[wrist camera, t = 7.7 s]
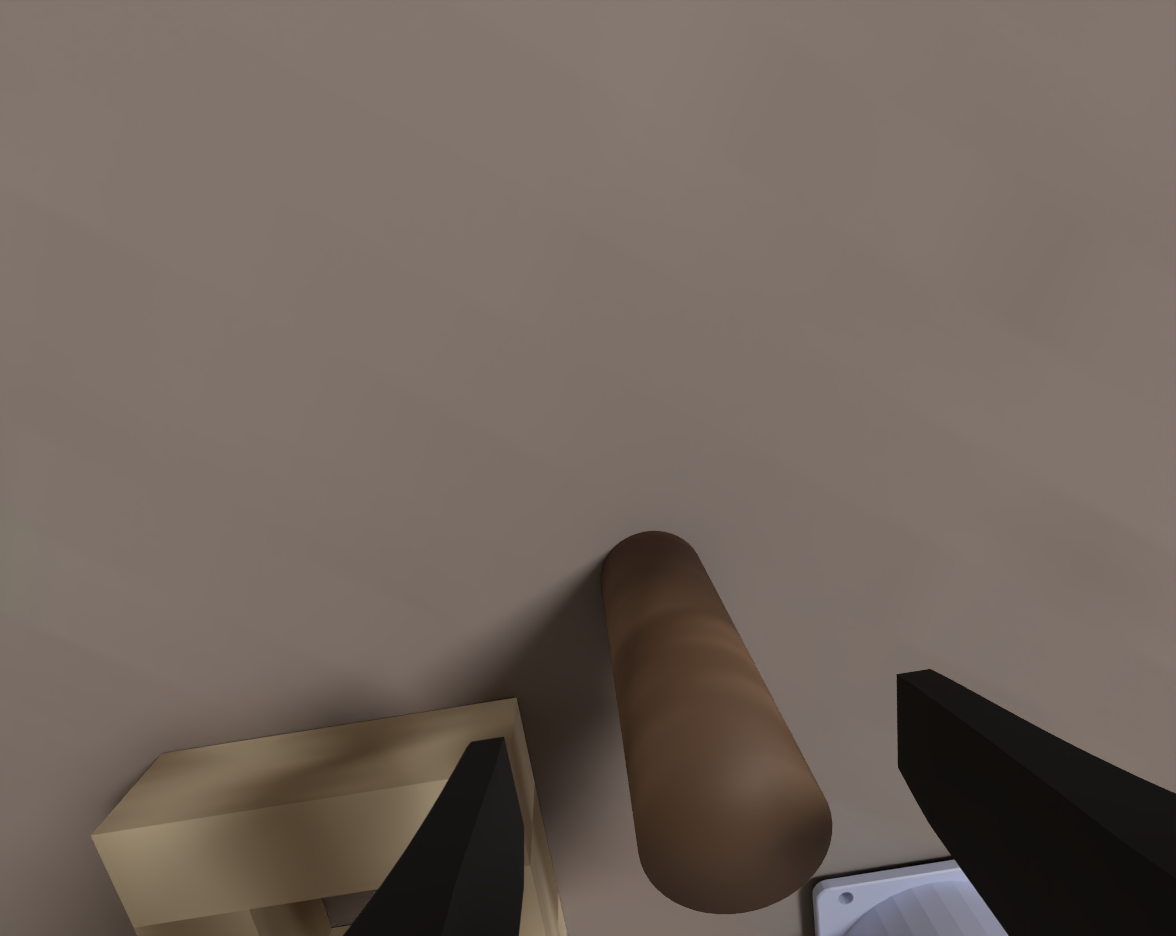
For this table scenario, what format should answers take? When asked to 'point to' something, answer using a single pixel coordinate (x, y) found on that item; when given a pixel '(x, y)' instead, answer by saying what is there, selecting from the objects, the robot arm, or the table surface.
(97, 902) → the table surface
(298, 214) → the table surface
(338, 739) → the block
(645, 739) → the dowel
